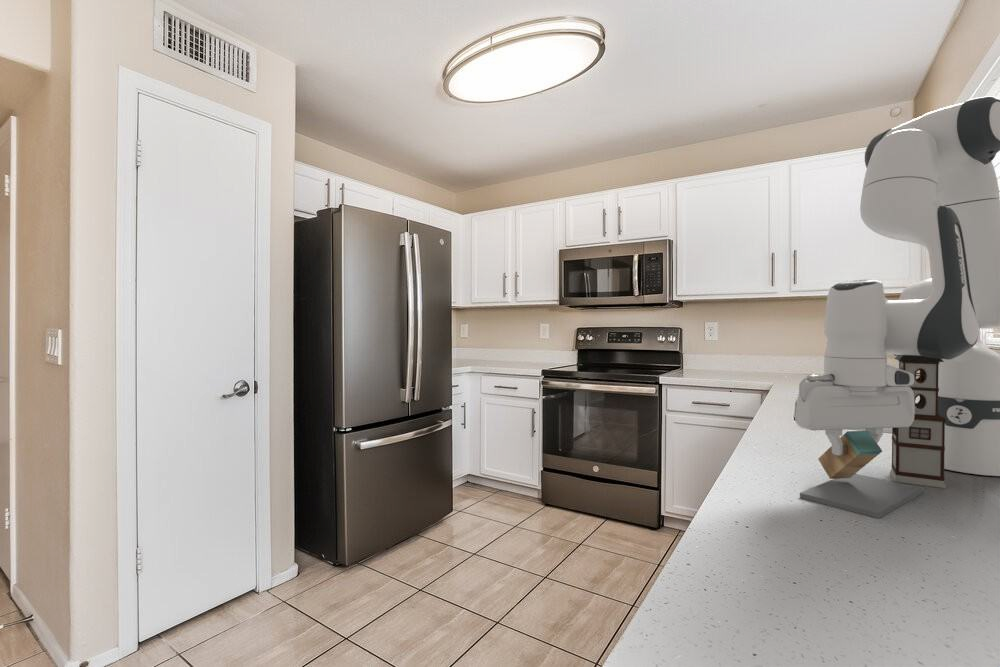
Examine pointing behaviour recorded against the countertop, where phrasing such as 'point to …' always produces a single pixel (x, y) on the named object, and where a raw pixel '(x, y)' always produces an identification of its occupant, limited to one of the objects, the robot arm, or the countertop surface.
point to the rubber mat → (862, 494)
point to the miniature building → (920, 429)
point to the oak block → (850, 455)
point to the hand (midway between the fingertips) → (853, 454)
